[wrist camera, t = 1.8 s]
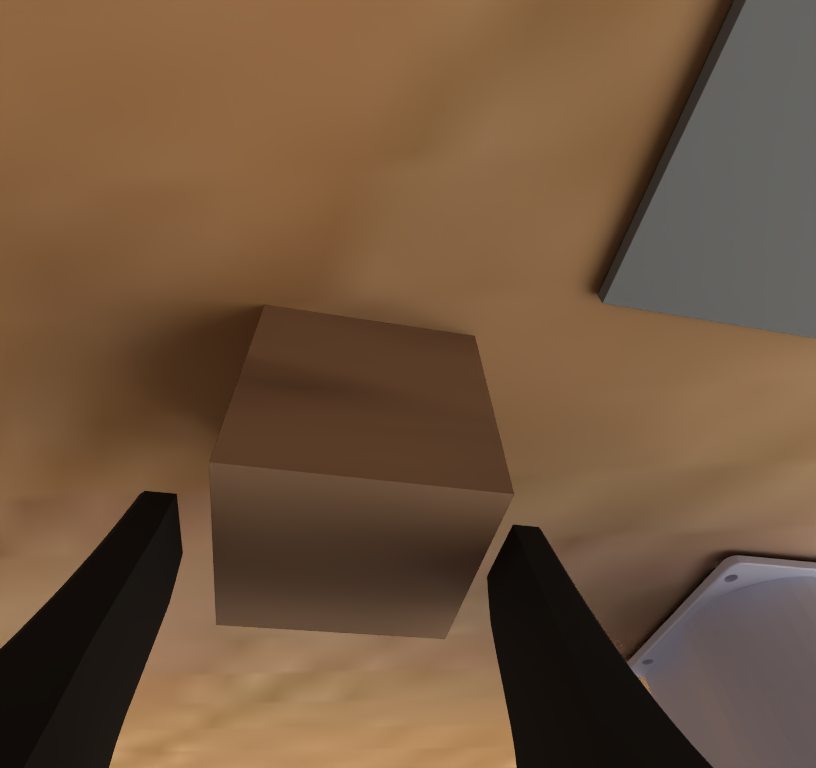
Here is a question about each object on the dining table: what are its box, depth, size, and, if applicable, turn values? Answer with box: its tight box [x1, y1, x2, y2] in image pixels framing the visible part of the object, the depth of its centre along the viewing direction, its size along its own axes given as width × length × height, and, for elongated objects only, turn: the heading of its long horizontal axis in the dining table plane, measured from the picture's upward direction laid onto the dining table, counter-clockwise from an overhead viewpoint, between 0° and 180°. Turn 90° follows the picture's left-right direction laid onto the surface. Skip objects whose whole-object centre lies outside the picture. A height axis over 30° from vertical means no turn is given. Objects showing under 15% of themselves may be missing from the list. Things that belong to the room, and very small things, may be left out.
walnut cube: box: [209, 305, 514, 639], centre depth 13 cm, size 6×6×6 cm
